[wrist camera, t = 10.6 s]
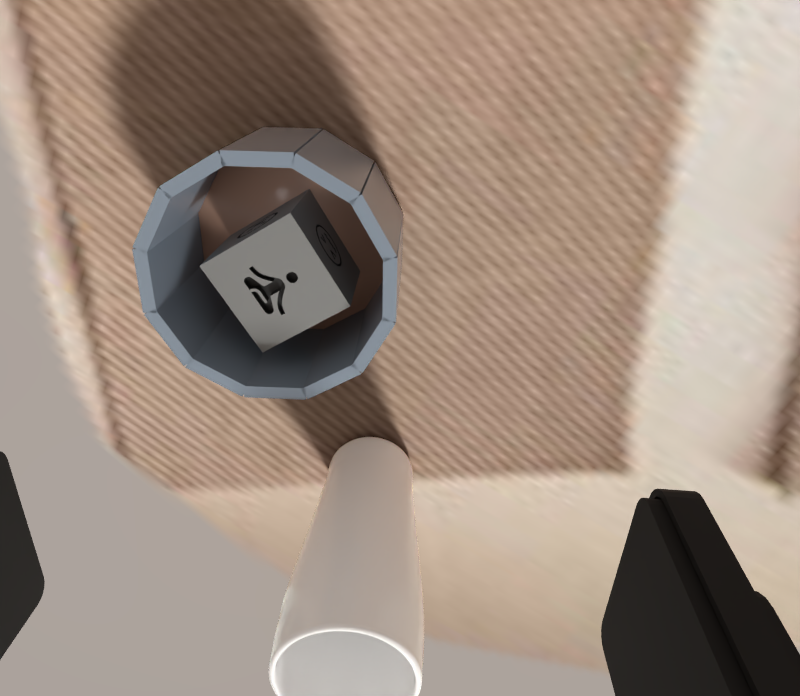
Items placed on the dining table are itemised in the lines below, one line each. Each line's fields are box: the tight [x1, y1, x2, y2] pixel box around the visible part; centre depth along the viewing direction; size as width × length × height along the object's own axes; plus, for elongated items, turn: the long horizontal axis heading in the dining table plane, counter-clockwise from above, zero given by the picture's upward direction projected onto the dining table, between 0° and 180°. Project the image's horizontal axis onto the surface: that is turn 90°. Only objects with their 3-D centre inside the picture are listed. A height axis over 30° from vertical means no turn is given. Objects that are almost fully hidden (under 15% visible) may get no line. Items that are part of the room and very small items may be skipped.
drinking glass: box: [269, 437, 424, 696], centre depth 33 cm, size 7×7×15 cm
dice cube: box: [200, 189, 360, 352], centre depth 31 cm, size 5×5×5 cm
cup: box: [132, 127, 403, 400], centre depth 30 cm, size 11×11×8 cm
